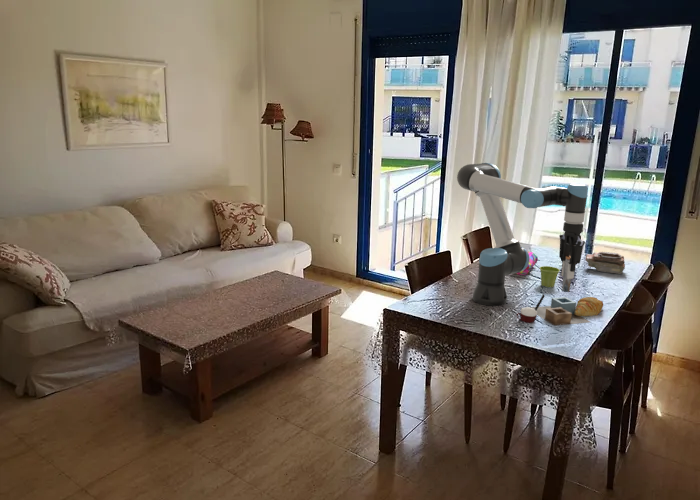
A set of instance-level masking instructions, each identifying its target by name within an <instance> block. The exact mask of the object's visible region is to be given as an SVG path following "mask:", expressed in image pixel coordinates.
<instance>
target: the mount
mask: <svg viewBox="0 0 700 500" xmlns="http://www.w3.org/2000/svg"><path fill="white" fill-rule="evenodd" d="M571 315H572V313H570V312H568V311H567V310H565V309H563V308H561V307H558V308H546V314H545V318H547V319H548V320H550V321H551V322H553V323H555V324H561V323H571Z"/></svg>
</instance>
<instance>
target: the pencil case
mask: <svg viewBox="0 0 700 500" xmlns="http://www.w3.org/2000/svg"><path fill="white" fill-rule="evenodd" d="M528 253H529V258H530V260H529V264H528V266H527V268H526V269H525V270H523V271H521V272H519V273H515V274H516V275H517V276H526V275H527V274H529V272H532V268H533V267H534V266H535V265H536V264H537V263H538V260H539V258H538V256H537V254H535V253H534V252H532V251H528Z"/></svg>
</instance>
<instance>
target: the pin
mask: <svg viewBox="0 0 700 500" xmlns="http://www.w3.org/2000/svg"><path fill="white" fill-rule="evenodd" d="M569 262H570V255H569V256H566V260H565V269H564V276H562V277H563V278H562V287H561V291H562V292H564V293H569V292H570V290H571V281H572V279H567V272H568V263H569Z"/></svg>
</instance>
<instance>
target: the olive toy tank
mask: <svg viewBox="0 0 700 500" xmlns="http://www.w3.org/2000/svg"><path fill="white" fill-rule="evenodd" d="M585 261H586V263H587V266H588V267H589V268H594V269H596V271H597V272H604V273H610V274H617V275H622V274H623V272H624V270H625V269H626V264H625V257H624V255H621V254H620V253H617V252H610V251H609V252H607V251H599V252H597V251H595V252H593V253H590V254H589V253H587V254H586V255H585Z"/></svg>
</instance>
